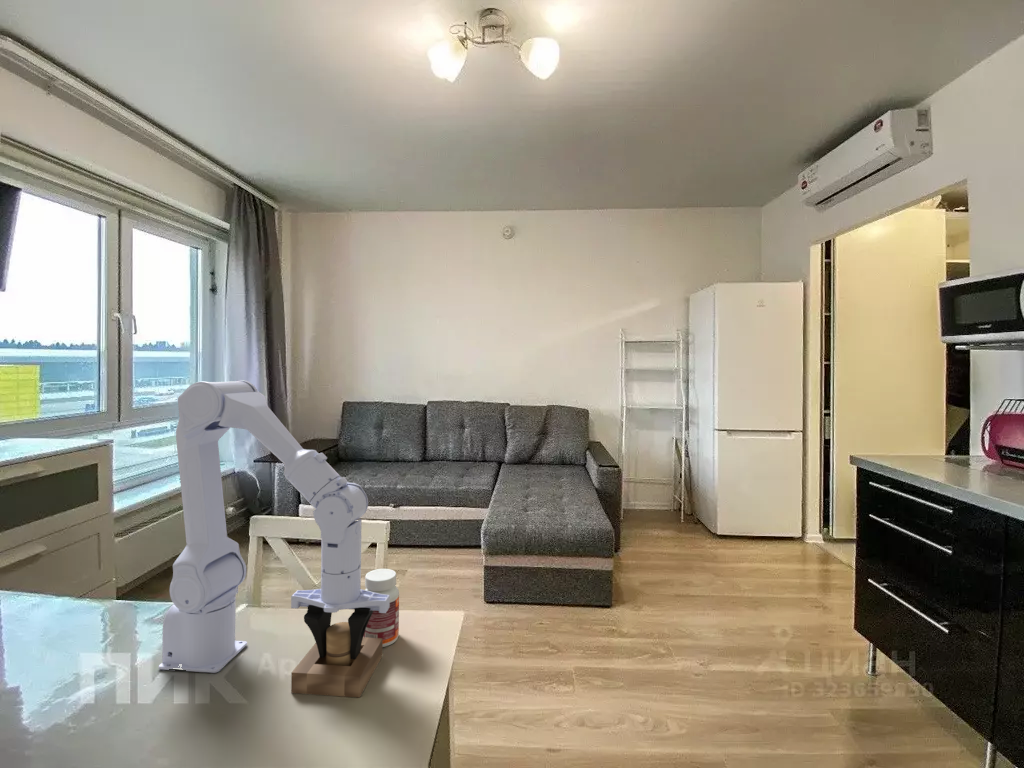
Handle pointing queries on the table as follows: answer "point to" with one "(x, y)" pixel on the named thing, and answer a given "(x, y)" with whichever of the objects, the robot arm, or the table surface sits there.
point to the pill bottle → (389, 621)
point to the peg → (338, 645)
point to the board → (337, 672)
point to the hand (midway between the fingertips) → (340, 654)
